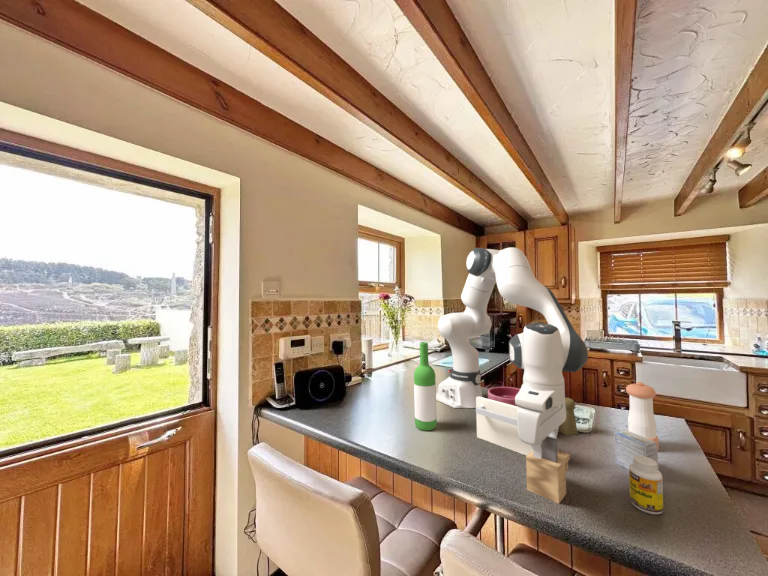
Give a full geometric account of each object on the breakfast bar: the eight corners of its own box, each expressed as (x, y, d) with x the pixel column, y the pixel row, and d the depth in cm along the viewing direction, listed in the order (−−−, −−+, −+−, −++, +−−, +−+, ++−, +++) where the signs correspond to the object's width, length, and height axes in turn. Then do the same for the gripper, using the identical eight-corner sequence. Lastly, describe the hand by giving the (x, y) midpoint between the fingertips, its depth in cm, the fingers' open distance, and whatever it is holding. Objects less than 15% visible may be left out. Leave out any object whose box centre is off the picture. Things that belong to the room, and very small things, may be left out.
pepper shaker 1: (580, 435, 100) (579, 401, 100) (560, 434, 101) (559, 401, 101) (573, 427, 106) (572, 395, 106) (554, 426, 107) (553, 395, 107)
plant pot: (517, 419, 114) (516, 384, 114) (542, 436, 100) (541, 397, 100) (481, 422, 112) (480, 387, 112) (502, 441, 98) (501, 400, 98)
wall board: (471, 440, 98) (469, 400, 98) (482, 433, 103) (481, 395, 103) (543, 469, 82) (541, 420, 82) (553, 459, 87) (551, 412, 87)
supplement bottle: (624, 502, 68) (622, 456, 69) (638, 495, 71) (637, 451, 71) (654, 519, 63) (653, 469, 63) (669, 511, 66) (667, 463, 66)
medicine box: (659, 476, 78) (658, 442, 78) (647, 480, 76) (645, 445, 76) (627, 460, 85) (625, 429, 85) (615, 463, 84) (614, 431, 84)
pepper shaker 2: (665, 450, 90) (662, 384, 90) (644, 453, 89) (642, 386, 89) (640, 438, 97) (638, 378, 97) (621, 441, 96) (618, 379, 96)
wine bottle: (423, 420, 115) (422, 340, 115) (441, 426, 109) (439, 342, 110) (410, 427, 109) (408, 342, 110) (427, 433, 104) (425, 345, 104)
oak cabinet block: (526, 489, 74) (525, 435, 74) (540, 475, 79) (539, 424, 80) (558, 503, 69) (556, 445, 69) (570, 487, 74) (569, 433, 74)
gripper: (546, 380, 83) (547, 432, 82) (511, 399, 69) (513, 461, 69) (572, 385, 78) (574, 439, 78) (540, 406, 64) (542, 473, 64)
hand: (545, 450), depth 73 cm, fingers open, 7 cm apart
